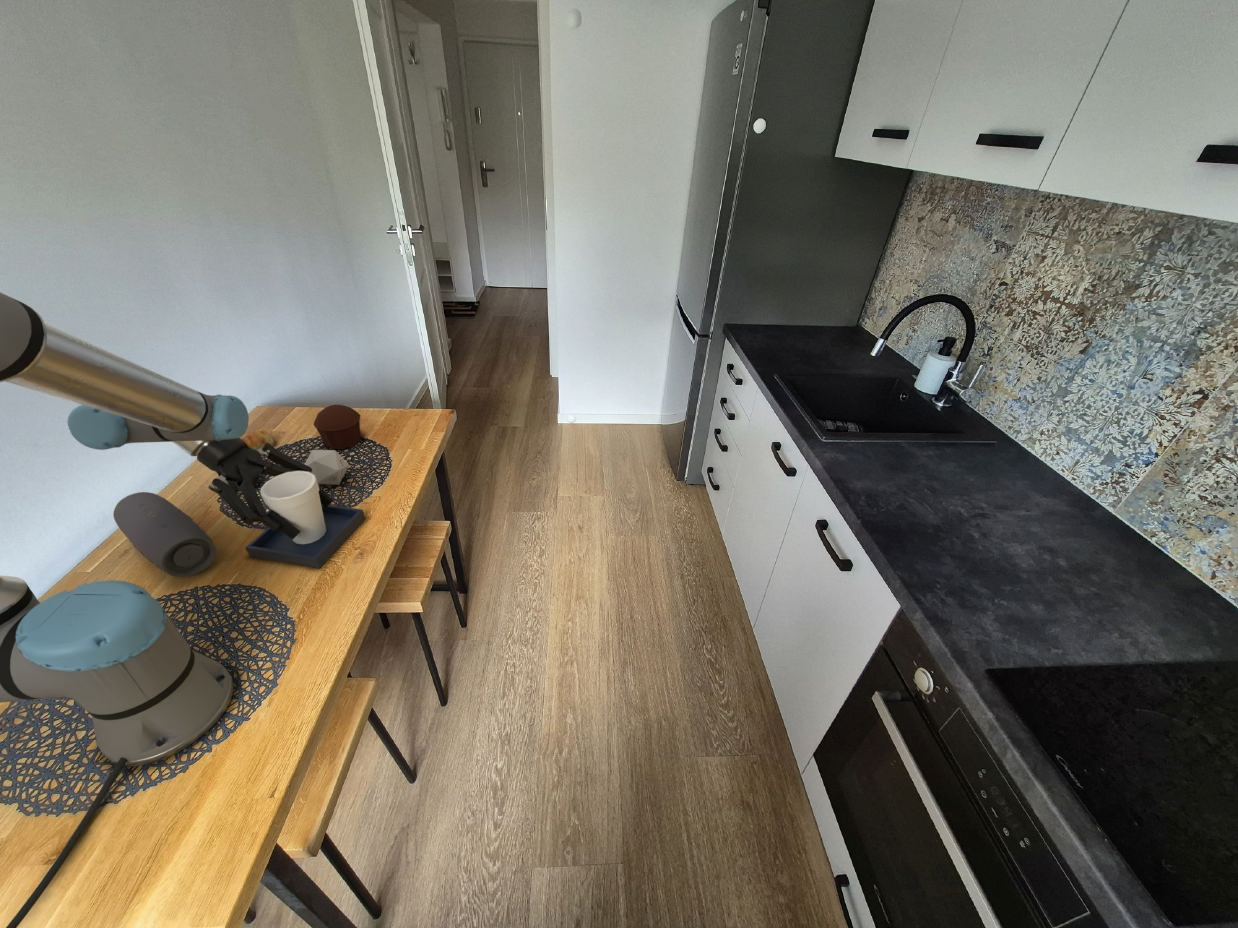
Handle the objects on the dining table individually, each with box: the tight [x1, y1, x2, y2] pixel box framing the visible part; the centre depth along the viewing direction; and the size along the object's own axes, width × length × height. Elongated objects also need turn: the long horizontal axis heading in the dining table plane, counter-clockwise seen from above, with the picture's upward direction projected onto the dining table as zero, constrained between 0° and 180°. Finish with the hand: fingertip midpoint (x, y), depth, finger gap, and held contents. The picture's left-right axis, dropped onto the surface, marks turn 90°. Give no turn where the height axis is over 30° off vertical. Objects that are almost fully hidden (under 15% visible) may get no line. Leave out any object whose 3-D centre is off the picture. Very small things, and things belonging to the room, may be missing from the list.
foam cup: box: [260, 471, 326, 544], centre depth 100 cm, size 10×9×13 cm
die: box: [304, 449, 350, 486], centre depth 118 cm, size 8×9×10 cm
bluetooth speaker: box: [113, 491, 218, 578], centre depth 96 cm, size 23×9×10 cm, turn 56°
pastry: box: [241, 428, 275, 450], centre depth 130 cm, size 9×7×4 cm
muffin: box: [313, 404, 362, 450], centre depth 132 cm, size 12×11×10 cm
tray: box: [245, 504, 366, 569], centre depth 104 cm, size 15×15×3 cm
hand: (314, 518), depth 101 cm, fingers closed on foam cup, 9 cm apart
